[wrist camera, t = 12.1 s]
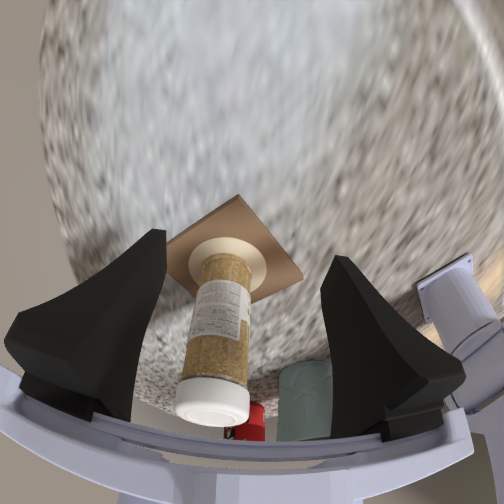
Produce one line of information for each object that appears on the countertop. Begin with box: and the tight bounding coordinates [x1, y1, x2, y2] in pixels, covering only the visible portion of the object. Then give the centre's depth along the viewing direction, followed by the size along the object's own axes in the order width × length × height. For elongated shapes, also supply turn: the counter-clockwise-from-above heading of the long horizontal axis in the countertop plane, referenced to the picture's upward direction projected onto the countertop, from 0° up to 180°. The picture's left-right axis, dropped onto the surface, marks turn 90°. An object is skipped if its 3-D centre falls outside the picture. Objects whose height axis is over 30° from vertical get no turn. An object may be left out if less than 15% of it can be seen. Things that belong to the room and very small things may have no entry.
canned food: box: [223, 401, 265, 442], centre depth 44 cm, size 8×8×11 cm
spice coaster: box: [166, 194, 303, 304], centre depth 25 cm, size 10×10×1 cm
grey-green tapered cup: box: [276, 360, 333, 442], centre depth 34 cm, size 10×10×12 cm
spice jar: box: [174, 253, 252, 427], centre depth 19 cm, size 5×5×14 cm
